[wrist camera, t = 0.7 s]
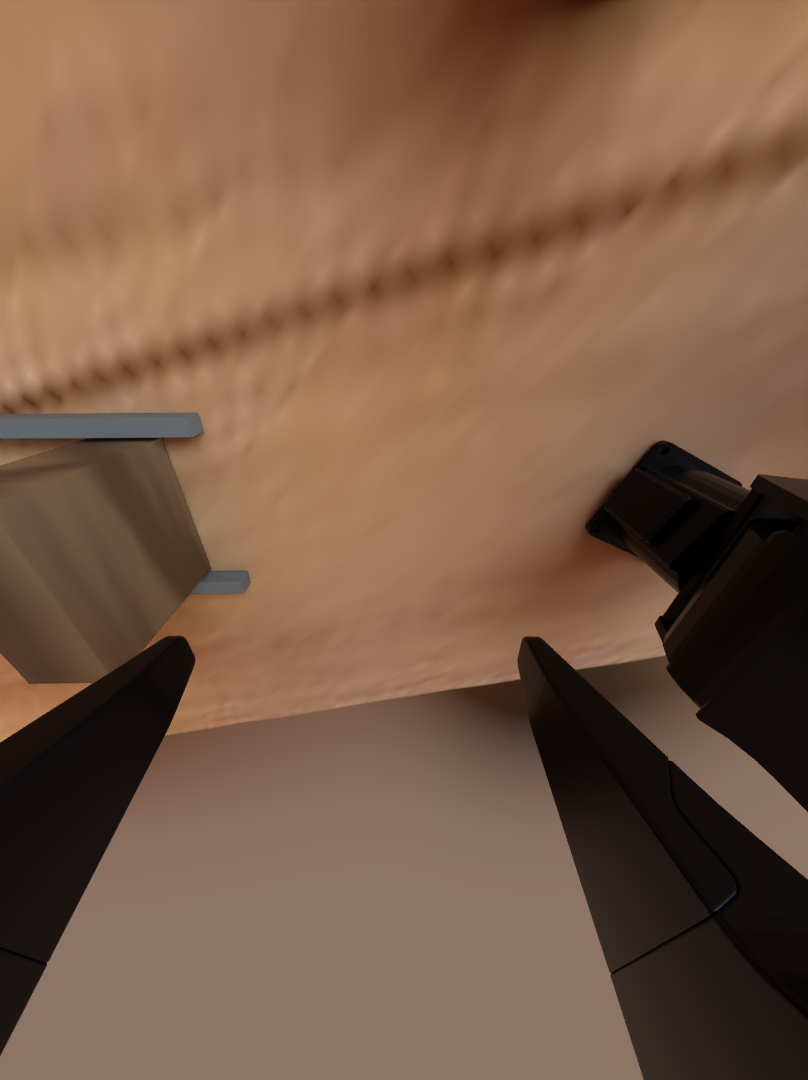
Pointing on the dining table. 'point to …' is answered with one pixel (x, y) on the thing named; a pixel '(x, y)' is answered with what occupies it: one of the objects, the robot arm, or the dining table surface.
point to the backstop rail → (122, 428)
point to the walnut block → (91, 556)
